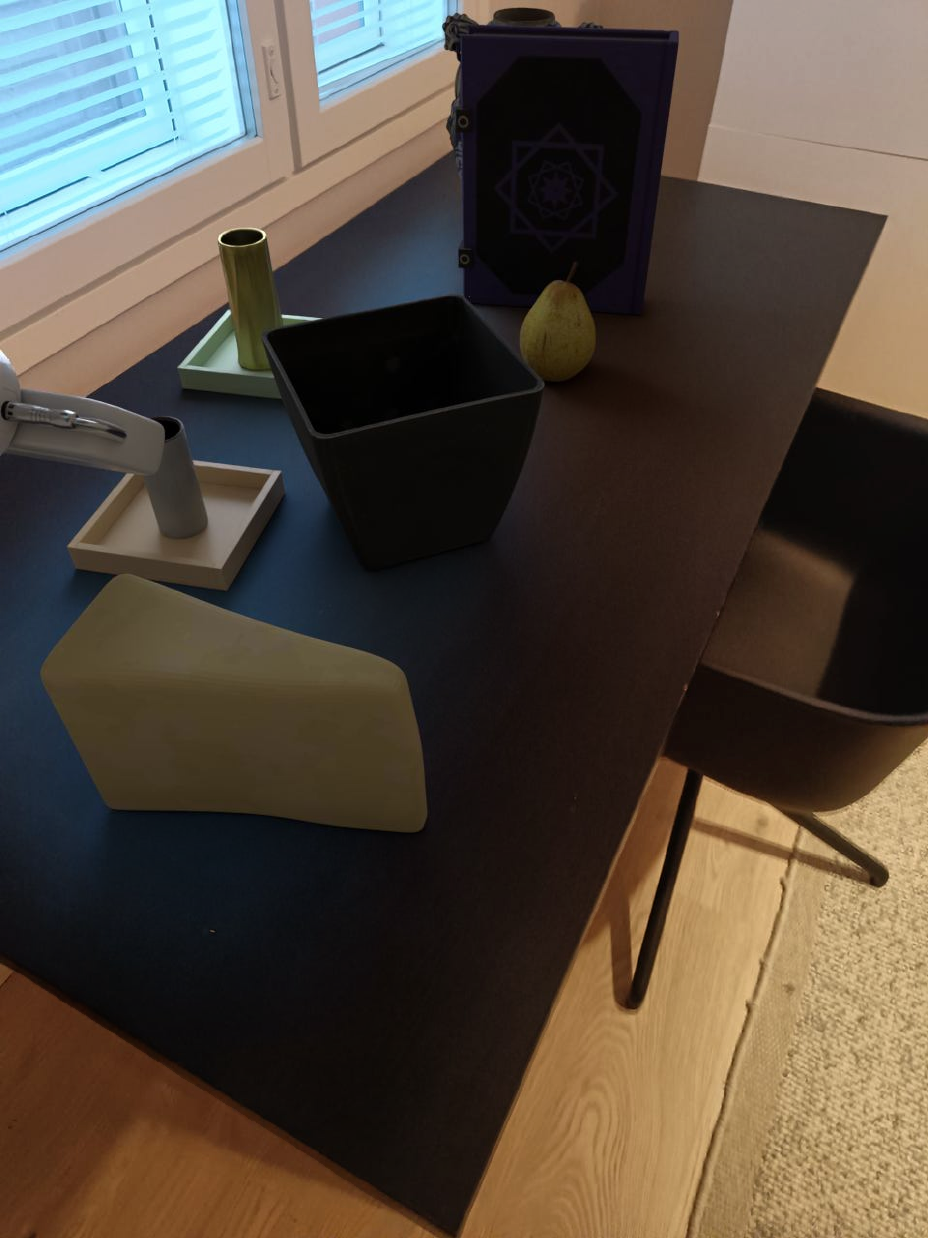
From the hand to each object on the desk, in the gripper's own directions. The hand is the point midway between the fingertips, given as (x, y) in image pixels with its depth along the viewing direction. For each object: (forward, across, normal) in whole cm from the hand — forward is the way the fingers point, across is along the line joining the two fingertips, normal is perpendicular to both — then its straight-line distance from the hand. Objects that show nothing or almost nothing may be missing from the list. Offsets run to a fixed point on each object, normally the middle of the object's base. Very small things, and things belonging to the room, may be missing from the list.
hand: (80, 447), depth 67 cm
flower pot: (+23, -20, -1) cm, 30 cm away
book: (+57, -24, -35) cm, 71 cm away
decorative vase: (+70, -15, -48) cm, 86 cm away
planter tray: (+18, 0, +4) cm, 18 cm away
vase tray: (+39, +6, -18) cm, 43 cm away
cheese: (0, -20, +22) cm, 30 cm away
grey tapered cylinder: (+17, 0, +4) cm, 18 cm away
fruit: (+44, -28, -22) cm, 57 cm away
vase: (+39, +6, -18) cm, 43 cm away
